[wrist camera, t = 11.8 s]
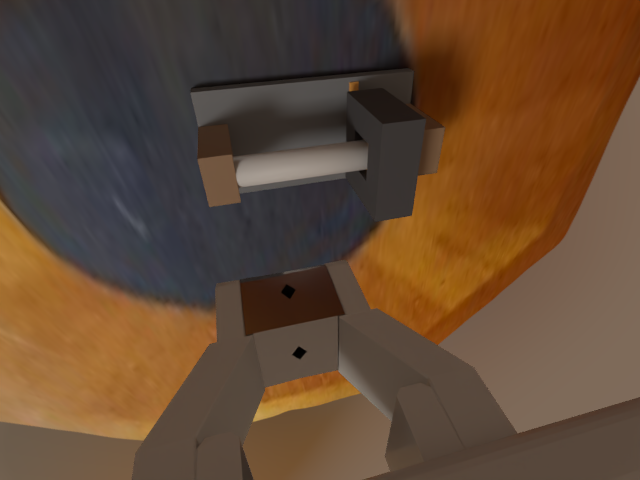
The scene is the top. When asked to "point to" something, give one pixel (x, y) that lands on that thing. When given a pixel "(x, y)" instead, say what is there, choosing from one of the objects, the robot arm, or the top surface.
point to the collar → (385, 151)
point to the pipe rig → (291, 132)
